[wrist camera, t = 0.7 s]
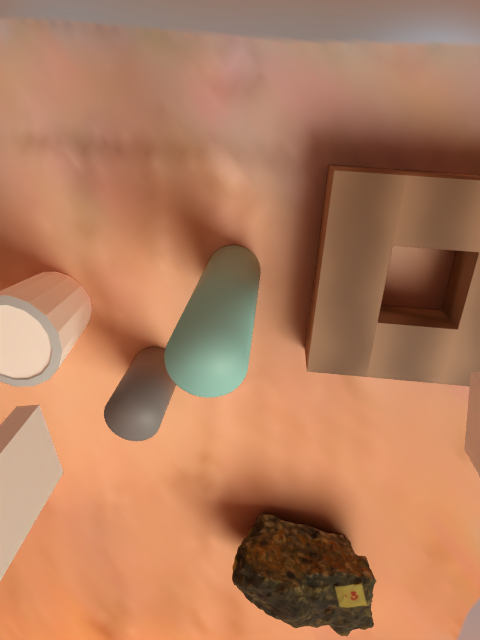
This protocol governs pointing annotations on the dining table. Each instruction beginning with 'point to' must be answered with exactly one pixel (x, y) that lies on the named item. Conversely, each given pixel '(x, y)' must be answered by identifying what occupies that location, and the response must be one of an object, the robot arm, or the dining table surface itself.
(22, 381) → the shot glass
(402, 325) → the hole block
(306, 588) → the rock
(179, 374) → the long dowel
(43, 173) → the dining table surface
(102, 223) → the dining table surface
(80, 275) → the dining table surface
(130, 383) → the short dowel
